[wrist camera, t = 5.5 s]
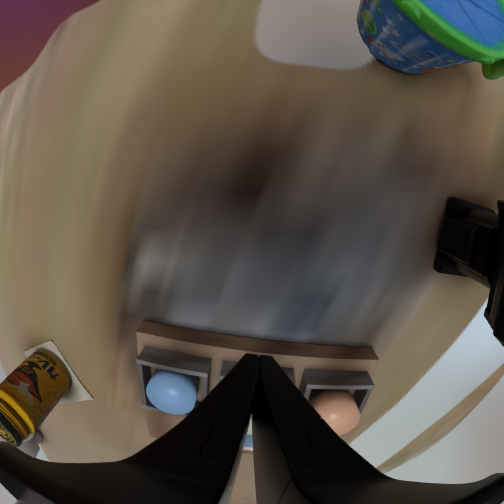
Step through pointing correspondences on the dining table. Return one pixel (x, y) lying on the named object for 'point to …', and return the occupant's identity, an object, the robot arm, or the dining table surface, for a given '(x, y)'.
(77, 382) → the condiment
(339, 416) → the terracotta button
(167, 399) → the slate blue button
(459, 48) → the snack cup
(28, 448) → the round bodied animal figurine
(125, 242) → the dining table surface
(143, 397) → the console
